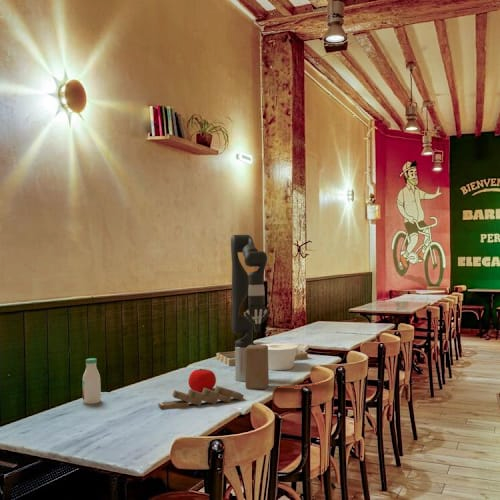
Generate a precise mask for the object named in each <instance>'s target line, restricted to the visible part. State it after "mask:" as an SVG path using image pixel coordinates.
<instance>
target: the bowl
mask: <svg viewBox="0 0 500 500" xmlns="http://www.w3.org/2000/svg"><path fill="white" fill-rule="evenodd" d="M295 344H296V343H295ZM295 344H294V343H286V342H284V343H283V342H276V343H274V342H272V343H271V342H270V343H262V344H260V345H267V346H268V371H286V370H291V369H293V367H294V363H295V361H296V360H295V356H296V352H297V348H298V346H297V345H295Z"/></svg>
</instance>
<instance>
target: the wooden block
mask: <svg viewBox="0 0 500 500" xmlns="http://www.w3.org/2000/svg"><path fill="white" fill-rule="evenodd" d="M269 373H270V372H269V370H268V346H267V345H261V344H253V345H249V346H247V347H246V348H245V381H244V382H245V389H247V390H266V388H267V387H268V386H269V383H270V381H269V379H270V378H269Z"/></svg>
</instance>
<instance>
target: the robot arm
mask: <svg viewBox="0 0 500 500" xmlns="http://www.w3.org/2000/svg"><path fill="white" fill-rule="evenodd" d="M230 252H231V253H230V254H231V293H232V294H231V295H232V296H231V297H232V307H231V309H232V310H231V331H232V333H233V334H235V335H237V334H245V335H244V336H243V337H241V338H239V339H236V340H235V341H234V351H235V358H234V359H235V369H234V370H235V380H236V381H237V382H245V348H246V347H247V346H249V345H254V343H253V341H254V339H253V338H254V337H253V336H254V334H253V333H254V332H255V333H260V332H261V330H262V329H261V326H262V325H261V324H262V323H264V322H265V321H266V320H267V318H268V317H269V316H270V313H271V311H269V310H268V309H267V308H266V306H265V304H266V302H265V298H266V296H265V294H266V293H265V285H264V283H265V282H264V280H265V279H264V276H265V270H266V266H267V261H268V255H267V253H266V252H265V251H259V250H258V249H257V248H256V246H255V243H254V240H253V237H252V236H251V235H249V234H232V236H231V238H230ZM239 253H240V254H241V253H242V255H243V257H244V258H243V259H244V264H245V265H246V266H247V267H251V268H253V267H254V268H255V267H258V269H257V270H254V271H251V272H249V273H248V272H247V271H246V269H245V268H244V266H243V264H242V262H241V261H240V258H239ZM247 297H248V307H247V310H246V311H244V312H243V315H240V310H241V306H242V305H243V304H244V301H245V299H246V298H247Z"/></svg>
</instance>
